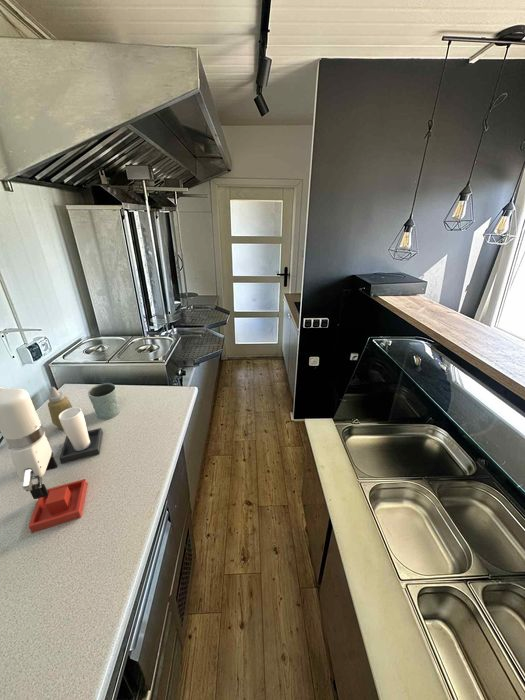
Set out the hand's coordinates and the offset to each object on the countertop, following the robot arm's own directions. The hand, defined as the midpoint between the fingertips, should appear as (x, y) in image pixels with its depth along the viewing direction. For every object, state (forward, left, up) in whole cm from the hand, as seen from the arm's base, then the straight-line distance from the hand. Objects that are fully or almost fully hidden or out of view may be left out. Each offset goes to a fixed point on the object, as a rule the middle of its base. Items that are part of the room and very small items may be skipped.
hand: (46, 481), depth 79 cm
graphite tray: (+3, +22, -9) cm, 24 cm away
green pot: (+10, +40, -9) cm, 43 cm away
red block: (+2, -2, -9) cm, 9 cm away
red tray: (+1, -2, -9) cm, 9 cm away
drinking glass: (+3, +22, -9) cm, 24 cm away
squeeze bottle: (-5, +38, -9) cm, 40 cm away
